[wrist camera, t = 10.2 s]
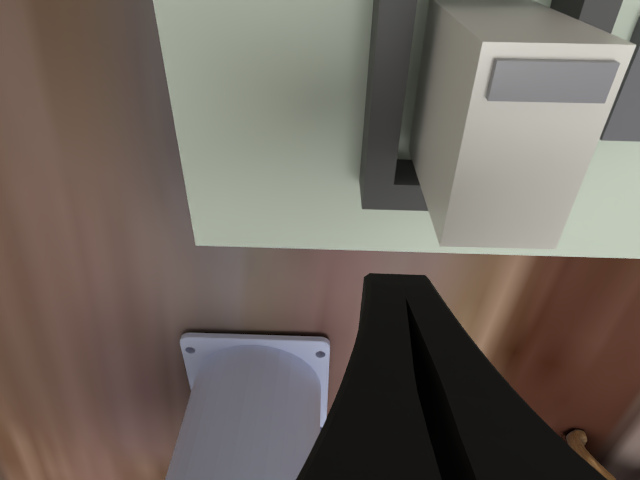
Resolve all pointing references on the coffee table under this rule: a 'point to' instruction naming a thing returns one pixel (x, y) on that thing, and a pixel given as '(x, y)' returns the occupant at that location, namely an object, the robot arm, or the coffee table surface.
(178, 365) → the coffee table surface
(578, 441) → the lion figurine
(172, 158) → the coffee table surface
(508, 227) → the plug
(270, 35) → the board
